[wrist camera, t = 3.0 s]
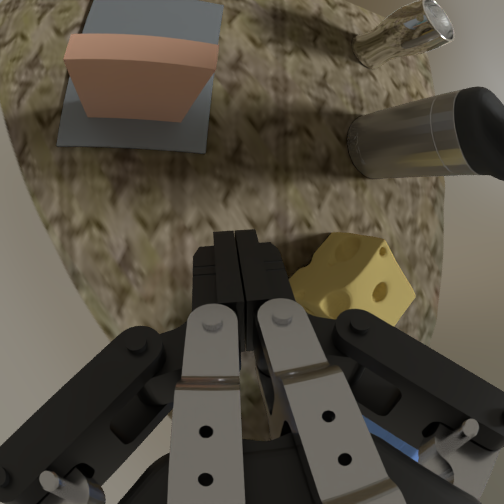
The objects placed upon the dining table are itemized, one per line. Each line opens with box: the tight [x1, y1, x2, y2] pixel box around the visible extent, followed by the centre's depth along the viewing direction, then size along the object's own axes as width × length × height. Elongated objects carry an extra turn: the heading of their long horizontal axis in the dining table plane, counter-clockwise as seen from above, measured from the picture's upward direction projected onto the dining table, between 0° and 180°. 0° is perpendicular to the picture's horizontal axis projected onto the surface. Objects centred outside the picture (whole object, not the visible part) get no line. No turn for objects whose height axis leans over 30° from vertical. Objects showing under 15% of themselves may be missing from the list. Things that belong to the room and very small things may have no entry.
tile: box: [63, 34, 219, 123], centre depth 22 cm, size 10×2×14 cm, turn 85°
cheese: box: [289, 232, 416, 326], centre depth 36 cm, size 10×11×10 cm
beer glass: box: [352, 0, 455, 69], centre depth 32 cm, size 7×7×15 cm
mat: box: [56, 0, 224, 154], centre depth 28 cm, size 16×20×1 cm
